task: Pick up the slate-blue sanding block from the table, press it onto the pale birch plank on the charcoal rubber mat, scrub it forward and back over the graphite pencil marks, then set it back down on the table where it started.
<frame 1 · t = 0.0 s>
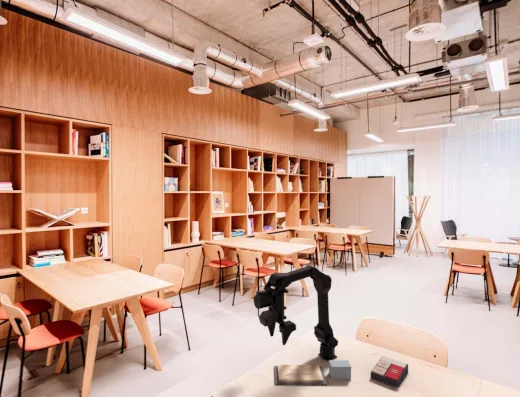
hand: (277, 340, 134), 15 cm above the table, tool pointing down, fingers open, 9 cm apart
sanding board: (299, 375, 133), on the table
sanding block: (339, 376, 133), on the table
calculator: (389, 376, 133), on the table
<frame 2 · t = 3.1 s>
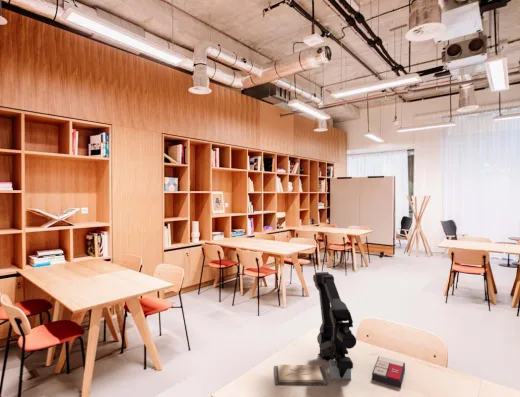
hand: (339, 373, 133), 1 cm above the table, tool pointing down, fingers closed on sanding block, 5 cm apart
sanding block: (339, 376, 133), on the table, touching gripper
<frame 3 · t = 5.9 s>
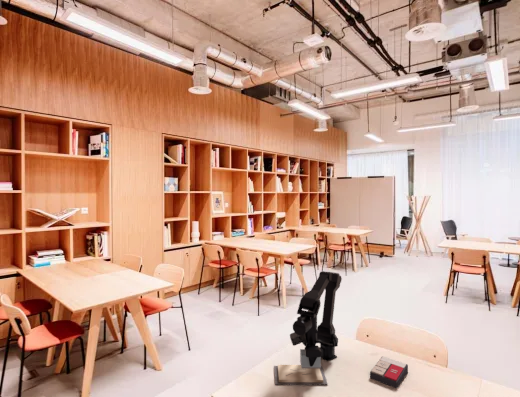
hand: (310, 362, 133), 6 cm above the table, tool pointing down, fingers closed on sanding block, 5 cm apart
sanding block: (310, 365, 133), point 5 cm above the table, touching gripper
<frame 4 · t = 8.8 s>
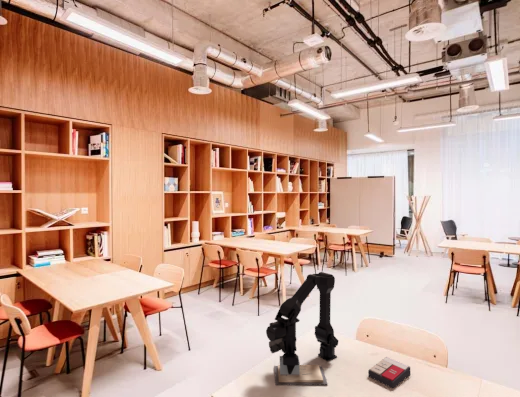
hand: (289, 370, 133), 2 cm above the table, tool pointing down, fingers closed on sanding block, 5 cm apart
sanding block: (289, 371, 133), point 2 cm above the table, touching gripper, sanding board
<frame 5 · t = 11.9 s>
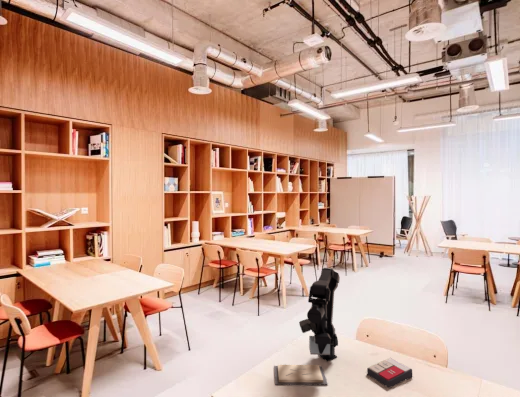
hand: (319, 350, 133), 11 cm above the table, tool pointing down, fingers closed on sanding block, 5 cm apart
sanding block: (319, 351, 133), point 10 cm above the table, touching gripper
when the fingers open (2 cm above the table, at t = 14.5 s): sanding block drops 2 cm, on the table.
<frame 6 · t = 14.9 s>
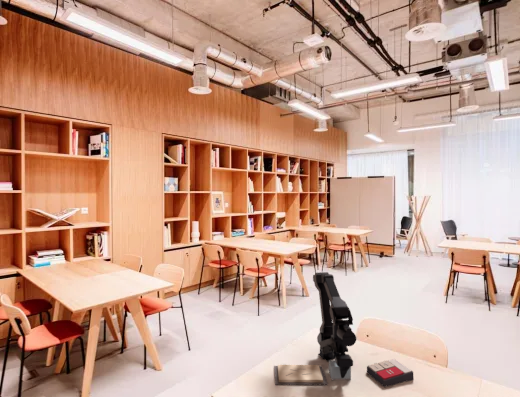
hand: (339, 371, 133), 2 cm above the table, tool pointing down, fingers open, 9 cm apart
sanding block: (339, 376, 133), on the table
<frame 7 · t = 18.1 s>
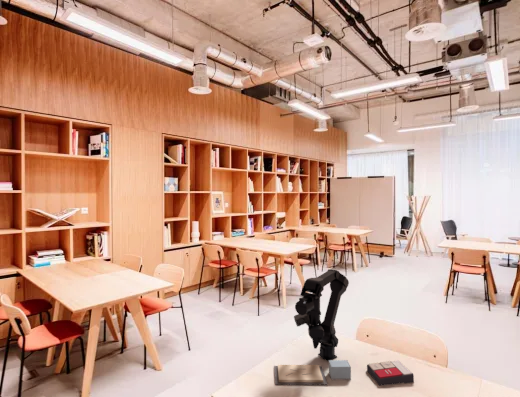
hand: (313, 343, 139), 11 cm above the table, tool pointing down, fingers open, 9 cm apart
at the end: sanding block 0.1 cm from the target spot, on the table; sanding block tilted 0°; the gripper is holding nothing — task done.
